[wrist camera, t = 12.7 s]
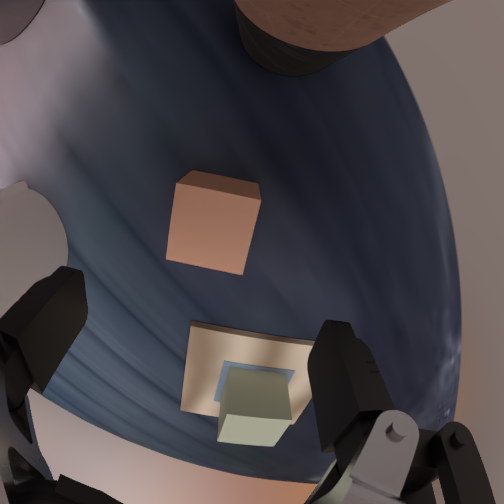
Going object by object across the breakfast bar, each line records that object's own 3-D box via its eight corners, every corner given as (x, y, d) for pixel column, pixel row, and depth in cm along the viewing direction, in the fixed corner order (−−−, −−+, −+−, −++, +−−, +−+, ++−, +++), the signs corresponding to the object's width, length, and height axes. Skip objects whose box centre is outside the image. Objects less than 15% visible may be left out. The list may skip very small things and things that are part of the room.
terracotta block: (182, 231, 22) (165, 259, 18) (192, 169, 20) (176, 182, 16) (243, 244, 23) (242, 275, 18) (258, 183, 21) (261, 200, 16)
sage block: (220, 398, 30) (217, 441, 24) (229, 366, 27) (227, 413, 22) (270, 404, 30) (273, 446, 25) (286, 373, 28) (292, 420, 23)
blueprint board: (181, 405, 32) (180, 410, 31) (192, 320, 26) (190, 326, 25) (292, 419, 34) (293, 424, 33) (339, 343, 28) (341, 349, 27)
